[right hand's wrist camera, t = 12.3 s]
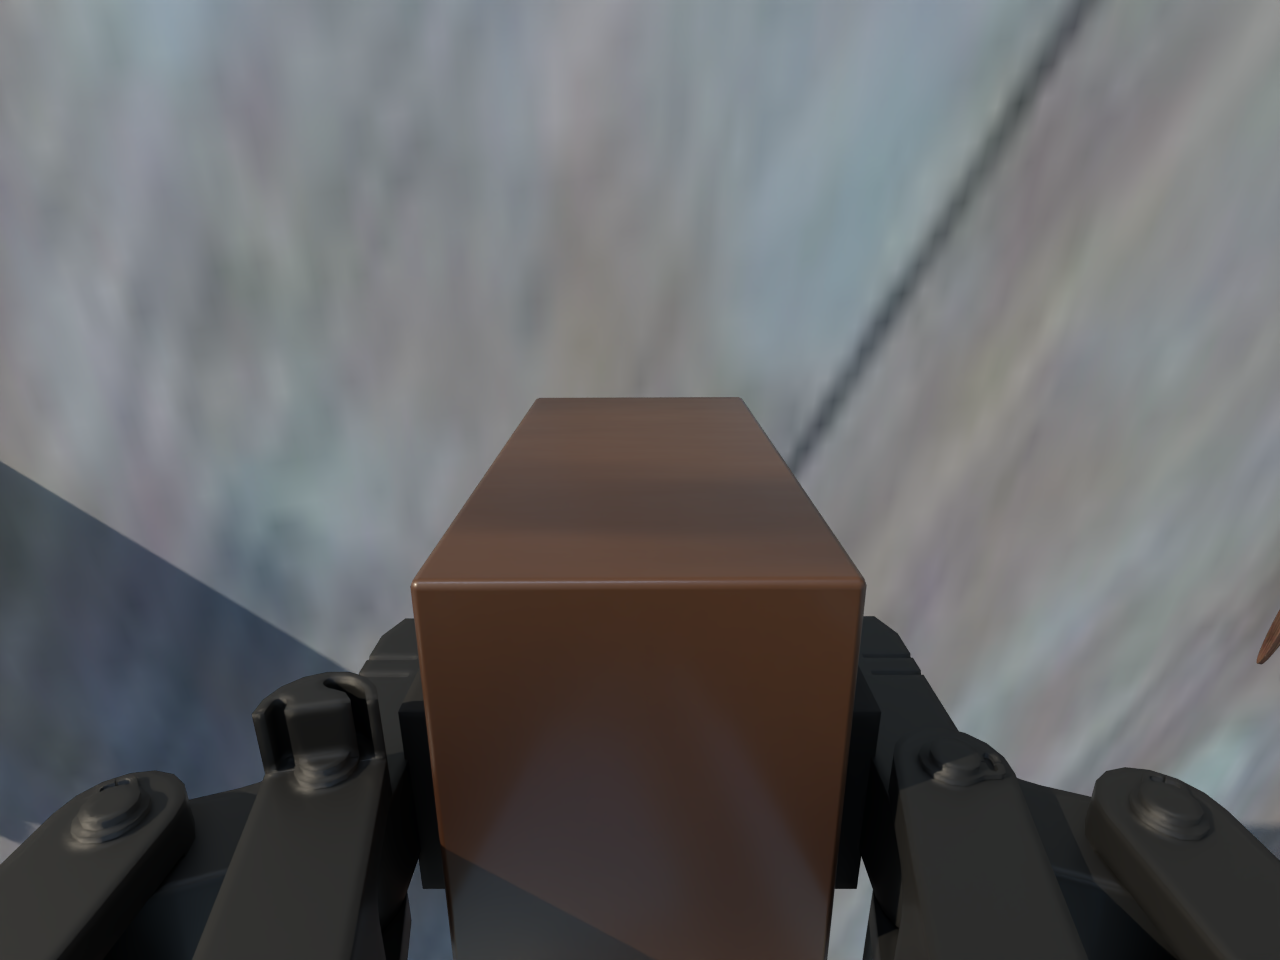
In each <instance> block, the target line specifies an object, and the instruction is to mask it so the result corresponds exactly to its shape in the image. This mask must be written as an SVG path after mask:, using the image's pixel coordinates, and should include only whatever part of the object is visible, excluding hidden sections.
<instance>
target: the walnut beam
mask: <svg viewBox="0 0 1280 960" xmlns="http://www.w3.org/2000/svg"><path fill="white" fill-rule="evenodd" d="M411 595H412V604H413V613H414V621H415V630H416V639H417V648H418V656H419V665H420V674H421V682H422V691H423V700H424V709H425V717H426V726H427V735H428V743H429V752H430V761H431V769H432V778H433V787H434V796H435V804H436V813H437V822H438V830H439V839H440V848H441V856H442V865H443V874H444V883H445V891H446V900H447V909H448V917H449V926H450V935H451V943H452V952H453V960H827V956H828V947H829V937H830V928H831V918H832V909H833V899H834V890H835V880H836V871H837V861H838V852H839V842H840V833H841V823H842V814H843V804H844V795H845V785H846V776H847V766H848V756H849V747H850V737H851V728H852V718H853V709H854V699H855V690H856V680H857V671H858V661H859V652H860V642H861V633H862V623H863V614H864V604H865V595H866V582H865V580H864V578H863V576H862V575H861V573H860V572H859V570H858V569H857V567H856V566H855V564H854V563H853V561H852V560H851V559H850V557H849V556H848V554H847V553H846V551H845V550H844V548H843V547H842V545H841V544H840V542H839V541H838V539H837V538H836V536H835V535H834V534H833V532H832V531H831V529H830V528H829V526H828V525H827V523H826V522H825V520H824V519H823V517H822V516H821V514H820V513H819V511H818V510H817V508H816V507H815V506H814V504H813V503H812V501H811V500H810V498H809V497H808V495H807V494H806V492H805V491H804V489H803V488H802V486H801V485H800V483H799V482H798V480H797V479H796V478H795V476H794V475H793V473H792V472H791V470H790V469H789V467H788V466H787V464H786V463H785V461H784V460H783V458H782V457H781V455H780V454H779V453H778V451H777V450H776V448H775V447H774V445H773V444H772V442H771V441H770V439H769V438H768V436H767V435H766V433H765V432H764V430H763V429H762V427H761V426H760V425H759V423H758V422H757V420H756V419H755V417H754V416H753V414H752V413H751V411H750V410H749V408H748V407H747V405H746V404H745V402H744V401H743V400H742V398H739V397H679V398H539V399H536V401H535V402H534V404H533V405H532V407H531V408H530V409H529V411H528V412H527V414H526V415H525V417H524V418H523V420H522V421H521V423H520V424H519V426H518V427H517V429H516V430H515V431H514V433H513V434H512V436H511V437H510V439H509V440H508V442H507V443H506V445H505V446H504V448H503V449H502V450H501V452H500V453H499V455H498V456H497V458H496V459H495V461H494V462H493V464H492V465H491V467H490V468H489V469H488V471H487V472H486V474H485V475H484V477H483V478H482V480H481V481H480V483H479V484H478V486H477V487H476V488H475V490H474V491H473V493H472V494H471V496H470V497H469V499H468V500H467V502H466V503H465V505H464V506H463V508H462V509H461V510H460V512H459V513H458V515H457V516H456V518H455V519H454V521H453V522H452V524H451V525H450V527H449V528H448V529H447V531H446V532H445V534H444V535H443V537H442V538H441V540H440V541H439V543H438V544H437V546H436V547H435V548H434V550H433V551H432V553H431V554H430V556H429V557H428V559H427V560H426V562H425V563H424V565H423V566H422V568H421V569H420V570H419V572H418V573H417V575H416V576H415V578H414V579H413V581H412V584H411Z"/></svg>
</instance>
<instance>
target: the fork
mask: <svg viewBox="0 0 1280 960" xmlns="http://www.w3.org/2000/svg"><path fill="white" fill-rule="evenodd" d="M1279 646H1280V610H1279V612H1278V614H1277V616H1276V617H1275V619H1274V621H1273V623H1272V625H1271V627H1270V629H1269V631H1268V633H1267V635H1266V638H1265V640H1264V642H1263V644H1262V647H1261V649H1260V652H1259V654H1258V657H1257V664H1263V663H1264V662H1265V661H1267V660H1268V659H1269V657H1270V656H1271V655H1272V654H1273V653H1274V652H1275V651H1276V649H1277V648H1278V647H1279Z"/></svg>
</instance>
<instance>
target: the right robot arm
mask: <svg viewBox="0 0 1280 960" xmlns="http://www.w3.org/2000/svg"><path fill="white" fill-rule="evenodd" d="M252 718H253V722H254V726H255V731H256V735H257V740H258V744H259V749H260V753H261V757H262V762H263V766H264V771H265V776H264V779H263V781H261V782H259V783H256V784H252V785H249V786H246V787H242V788H239V789H234V790H230V791H226V792H221V793H217V794H213V795H208V796H204V797H200V798H195V799H191V800H189V799H188V796H187V792H186V788H185V785H184V783H183V782H182V781H180V780H179V779H178V778H177V777H176V776H175V775H174V774H170V773H165V772H160V771H146V772H137V773H130V774H127V775H123V776H120V777H117V778H114V779H111V780H108V781H105V782H102V783H100V784H98V785H96V786H94V787H93V788H91V789H89V790H87V791H85V792H83V793H81V794H79V795H77V796H75V797H74V798H73V799H72V800H70V801H69V802H68V803H66V804H65V805H64V806H63V807H61V808H60V809H59V810H57V811H56V812H55V813H54V814H52V815H51V816H50V817H49V818H48V819H47V820H46V821H45V822H44V823H43V824H42V825H41V826H40V827H39V828H38V829H37V830H36V831H35V832H34V833H33V834H32V835H31V836H30V837H29V838H28V839H27V840H25V841H24V842H23V843H22V844H21V845H20V846H19V847H18V848H17V849H16V850H15V851H14V852H13V853H12V854H11V855H10V856H9V857H8V858H7V859H6V860H5V861H4V862H3V863H2V864H1V865H0V960H407V958H408V949H409V939H410V929H411V914H410V907H409V900H408V893H407V890H408V887H409V884H410V881H411V878H412V875H413V873H414V870H415V867H416V864H417V861H418V858H419V865H420V872H421V879H422V886H423V889H445V883H444V874H443V865H442V856H441V848H440V839H439V830H438V822H437V813H436V804H435V796H434V787H433V778H432V769H431V761H430V752H429V743H428V735H427V726H426V717H425V709H424V700H423V691H422V682H421V674H420V665H419V656H418V648H417V639H416V630H415V621H414V619H404V620H403V621H402V622H400V623H399V624H397V625H396V626H395V627H393V628H392V629H391V630H389V631H388V632H387V633H385V634H384V635H383V636H382V637H381V638H380V640H379V642H378V643H377V645H376V647H375V648H374V650H373V651H372V653H371V655H370V658H369V660H367V661H366V663H365V664H364V666H363V667H362V669H361V671H360V672H359V675H358V674H355V673H351V672H326V673H321V674H316V675H312V676H307V677H303V678H301V679H298V680H296V681H294V682H291V683H289V684H287V685H284V686H282V687H280V688H279V689H278V690H276V691H275V692H273V693H272V694H270V695H269V696H268V697H266V698H265V699H263V700H262V702H261V703H260V704H259V706H258V707H257V708H256V710H255V711H254V712H253V713H252ZM861 856H862V859H863V862H864V865H865V868H866V871H867V873H868V876H869V879H870V882H871V885H872V888H873V893H872V900H871V906H870V913H869V920H868V926H867V933H866V939H865V946H864V953H863V960H1280V860H1278V859H1277V858H1276V857H1275V856H1274V855H1273V854H1272V853H1271V852H1270V851H1269V850H1268V849H1267V848H1266V847H1265V846H1264V845H1263V844H1262V843H1261V842H1260V841H1259V840H1258V839H1257V838H1256V837H1254V836H1253V835H1252V834H1251V833H1250V832H1249V831H1248V830H1247V829H1246V828H1245V827H1244V826H1243V825H1242V824H1241V823H1240V822H1239V821H1238V820H1237V819H1236V818H1235V817H1234V816H1233V815H1232V814H1231V813H1229V812H1228V811H1227V810H1226V809H1225V808H1223V807H1222V806H1221V805H1220V804H1218V803H1217V802H1216V801H1214V800H1213V799H1212V798H1210V797H1209V796H1208V795H1207V794H1205V793H1204V792H1202V791H1200V790H1198V789H1196V788H1194V787H1192V786H1190V785H1188V784H1186V783H1184V782H1182V781H1181V780H1179V779H1176V778H1173V777H1170V776H1167V775H1164V774H1161V773H1157V772H1154V771H1151V770H1145V769H1135V768H1126V767H1124V768H1119V769H1114V770H1110V771H1106V772H1105V773H1104V774H1103V775H1102V776H1101V777H1100V778H1099V779H1097V780H1096V783H1095V786H1094V790H1093V793H1092V797H1089V796H1085V795H1080V794H1076V793H1072V792H1067V791H1063V790H1058V789H1054V788H1050V787H1045V786H1041V785H1037V784H1034V783H1031V782H1027V781H1024V780H1021V779H1018V778H1016V775H1015V773H1014V771H1013V770H1012V768H1011V767H1010V765H1009V764H1008V762H1007V761H1006V759H1005V758H1004V757H1003V756H1002V755H1001V754H999V753H998V752H997V751H996V750H994V749H993V748H992V747H991V746H989V745H988V744H987V743H985V742H983V741H981V740H979V739H977V738H974V737H972V736H970V735H968V734H966V733H963V732H959V731H958V729H957V728H956V726H955V725H954V723H953V721H952V720H951V718H950V717H949V715H948V713H947V712H946V710H945V709H944V707H943V705H942V704H941V702H940V701H939V699H938V697H937V696H936V694H935V693H934V691H933V689H932V688H931V686H930V685H929V683H928V681H927V680H926V678H925V677H924V675H921V670H920V669H919V667H918V665H917V664H916V662H915V661H914V659H913V658H911V657H910V653H909V651H908V649H907V648H906V646H905V645H904V643H903V641H902V640H901V638H900V636H899V635H898V633H896V632H895V631H893V630H892V629H891V628H889V627H888V626H887V625H885V624H884V623H883V622H881V621H880V620H879V619H877V618H876V617H874V616H863V623H862V633H861V642H860V652H859V661H858V671H857V680H856V690H855V699H854V709H853V718H852V728H851V737H850V747H849V756H848V766H847V776H846V785H845V795H844V804H843V814H842V823H841V833H840V842H839V852H838V861H837V871H836V880H835V889H857V882H858V875H859V868H860V861H861Z"/></svg>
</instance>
